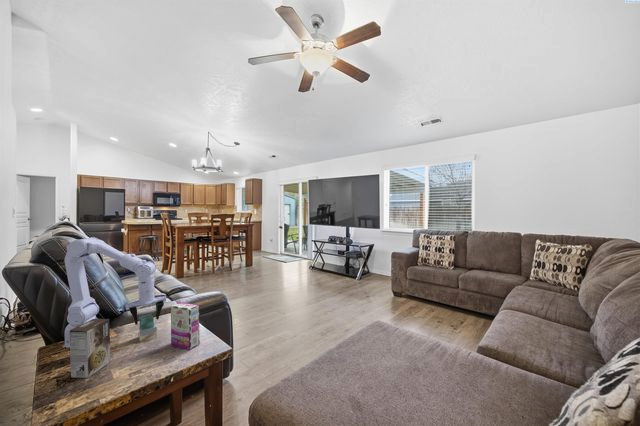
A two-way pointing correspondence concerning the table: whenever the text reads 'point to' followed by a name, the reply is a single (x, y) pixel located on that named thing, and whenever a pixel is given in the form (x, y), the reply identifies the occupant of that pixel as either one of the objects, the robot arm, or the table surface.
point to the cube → (146, 322)
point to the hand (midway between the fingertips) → (147, 321)
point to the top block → (148, 331)
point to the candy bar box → (185, 325)
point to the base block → (147, 337)
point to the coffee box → (89, 347)
